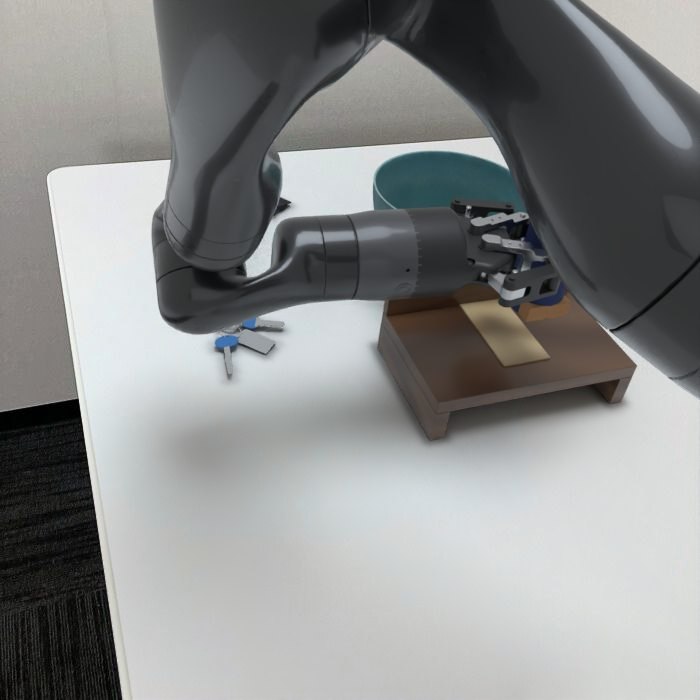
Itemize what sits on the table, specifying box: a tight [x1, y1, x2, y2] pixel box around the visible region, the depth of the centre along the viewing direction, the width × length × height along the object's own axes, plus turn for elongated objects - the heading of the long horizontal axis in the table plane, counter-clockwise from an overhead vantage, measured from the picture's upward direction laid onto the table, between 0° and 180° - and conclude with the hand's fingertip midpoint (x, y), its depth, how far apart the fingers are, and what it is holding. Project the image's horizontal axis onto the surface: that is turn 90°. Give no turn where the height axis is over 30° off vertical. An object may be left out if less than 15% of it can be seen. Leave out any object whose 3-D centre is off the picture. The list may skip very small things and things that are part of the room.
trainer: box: [512, 221, 571, 322], centre depth 71 cm, size 9×5×11 cm, turn 20°
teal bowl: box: [372, 150, 527, 217], centre depth 91 cm, size 18×18×12 cm
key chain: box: [214, 316, 286, 376], centre depth 83 cm, size 14×8×1 cm, turn 24°
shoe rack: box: [376, 284, 638, 441], centre depth 79 cm, size 14×22×8 cm, turn 110°
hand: (578, 243), depth 69 cm, fingers closed on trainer, 5 cm apart
